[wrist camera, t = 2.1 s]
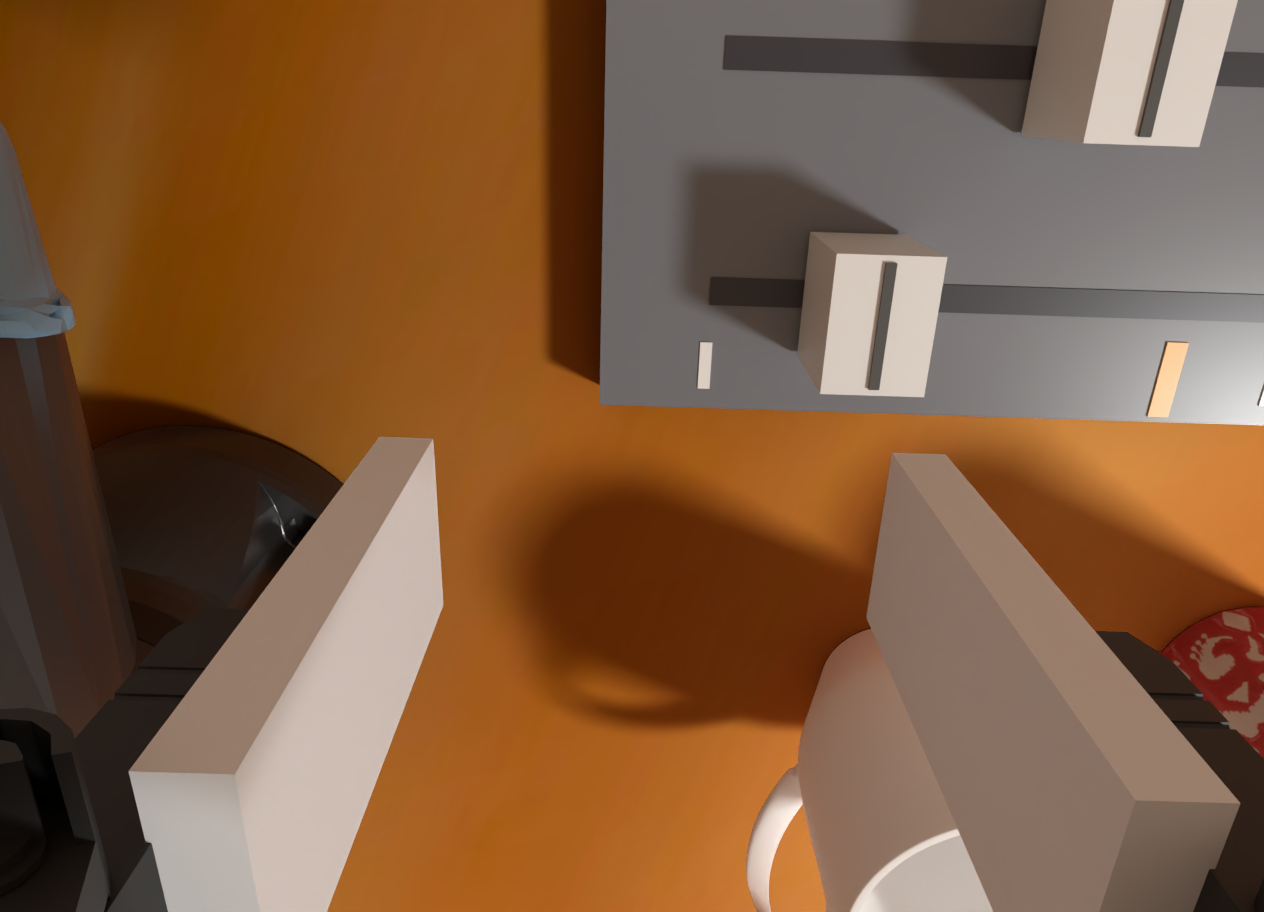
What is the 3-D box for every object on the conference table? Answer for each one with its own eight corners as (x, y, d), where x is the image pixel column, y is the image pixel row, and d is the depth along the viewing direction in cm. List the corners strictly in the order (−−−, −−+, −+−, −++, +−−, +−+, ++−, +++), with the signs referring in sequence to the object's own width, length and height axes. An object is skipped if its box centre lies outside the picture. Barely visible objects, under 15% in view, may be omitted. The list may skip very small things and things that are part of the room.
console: (601, 386, 32) (599, 405, 30) (610, -98, 26) (608, -112, 24) (1317, 408, 32) (1360, 428, 30) (1484, -68, 26) (1550, -80, 24)
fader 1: (797, 355, 29) (820, 395, 25) (810, 231, 27) (837, 254, 24) (887, 358, 29) (925, 398, 25) (906, 234, 27) (948, 257, 24)
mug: (924, 548, 34) (1068, 776, 23) (1025, 694, 37) (1195, 957, 26) (678, 694, 37) (704, 960, 26) (791, 819, 40) (856, 1106, 29)
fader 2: (1020, 135, 26) (1085, 143, 23) (1049, -15, 25) (1123, -34, 21) (1120, 138, 26) (1201, 147, 23) (1155, -12, 25) (1248, -30, 21)
